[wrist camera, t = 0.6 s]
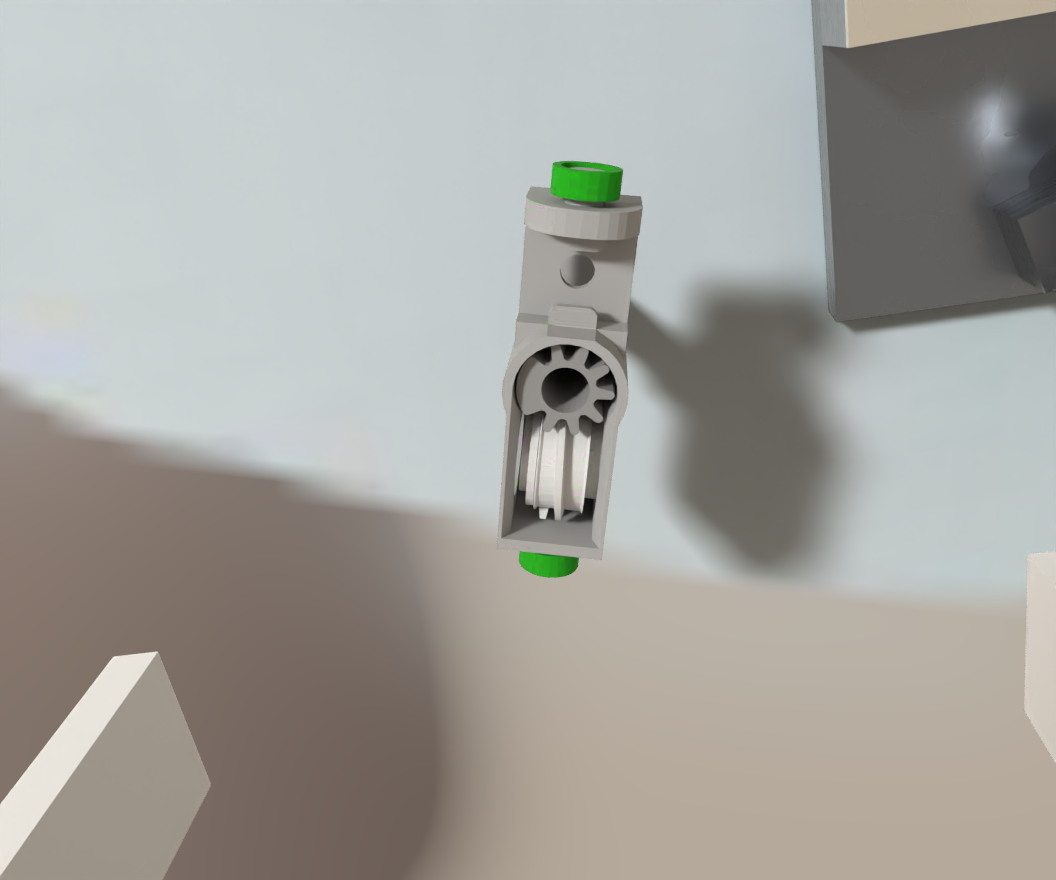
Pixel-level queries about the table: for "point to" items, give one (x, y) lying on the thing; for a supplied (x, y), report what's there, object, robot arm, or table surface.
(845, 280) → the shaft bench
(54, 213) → the table surface
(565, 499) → the mechanical component
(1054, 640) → the robot arm
